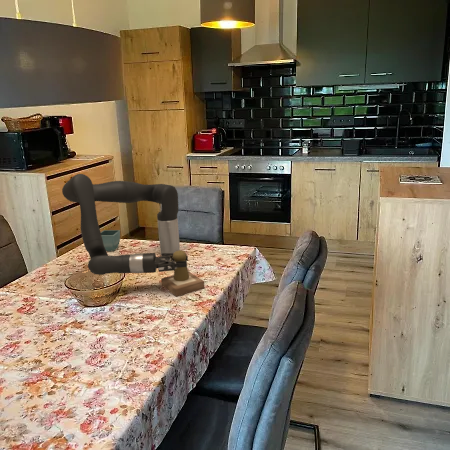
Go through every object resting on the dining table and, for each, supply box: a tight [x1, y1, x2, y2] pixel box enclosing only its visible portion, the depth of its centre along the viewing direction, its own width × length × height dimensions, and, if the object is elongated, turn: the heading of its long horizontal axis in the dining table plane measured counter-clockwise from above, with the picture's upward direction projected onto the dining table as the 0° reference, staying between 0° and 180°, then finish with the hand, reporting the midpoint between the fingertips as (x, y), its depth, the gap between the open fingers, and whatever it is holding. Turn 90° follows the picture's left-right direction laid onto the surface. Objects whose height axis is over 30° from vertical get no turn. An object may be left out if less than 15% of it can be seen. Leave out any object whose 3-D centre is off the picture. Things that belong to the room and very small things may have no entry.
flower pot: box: [100, 229, 121, 252], centre depth 217 cm, size 9×9×9 cm
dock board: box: [160, 270, 205, 298], centre depth 170 cm, size 13×12×3 cm
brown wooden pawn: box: [173, 249, 189, 281], centre depth 169 cm, size 6×6×11 cm
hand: (187, 260), depth 168 cm, fingers open, 6 cm apart
